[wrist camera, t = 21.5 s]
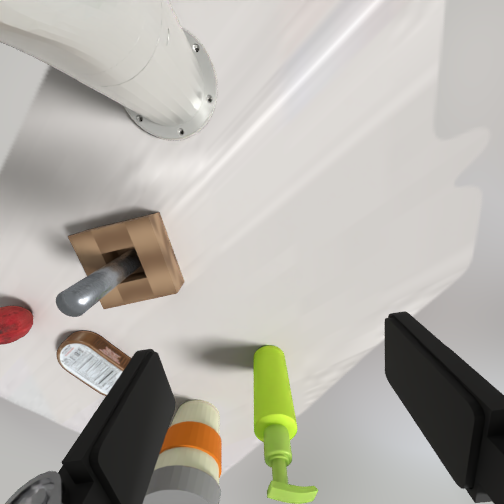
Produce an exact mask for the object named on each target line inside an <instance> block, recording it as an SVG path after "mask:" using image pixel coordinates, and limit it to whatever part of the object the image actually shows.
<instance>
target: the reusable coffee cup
mask: <svg viewBox="0 0 504 504" xmlns="http://www.w3.org/2000/svg"><path fill="white" fill-rule="evenodd" d="M220 475H221V438H220V436H219V412H218V410H217V409H216V407H215V406H213V405H212V404H210V403H208V402H206V401H202V400H191V401H188V402H185V403H184V404H182V405H181V406H180V407H179V409H178V411H177V413H176V415H175V417H174V419H173V422H172V424H171V426H170V428H168V430H167V433H166V436H165V439H164V442H163V445H162V448H161V451H160V454H159V457H158V460H157V463H156V466H155V468H154V471H153V474H152V477H151V480H150V483H149V486H148V489H147V492H146V495H145V498H144V501H143V504H219V501H220V495H221V490H220V487H219V478H220Z"/></svg>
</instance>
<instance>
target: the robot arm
mask: <svg viewBox="0 0 504 504" xmlns="http://www.w3.org/2000/svg"><path fill="white" fill-rule="evenodd" d="M0 42H1V43H4V44H6V45H9V46H11V47H13V48H16V49H18V50H20V51H22V52H24V53H27V54H29V55H31V56H33V57H35V58H37V59H39V60H41V61H43V62H45V63H47V64H48V65H50V66H52V67H54V68H56V69H58V70H60V71H62V72H63V73H65V74H67V75H69V76H71V77H73V78H74V79H76V80H77V81H79V82H81V83H83V84H85V85H87V86H88V87H90V88H92V89H94V90H96V91H98V92H99V93H101V94H103V95H105V96H107V97H109V98H110V99H112V100H114V101H116V102H118V103H120V104H121V105H123V106H124V107H125V109H126V111H127V112H128V114H129V115H130V117H131V118H132V119H133V120H134V121H135V123H136V124H137V125H138V126H140V127H141V128H142V129H143V130H145V131H146V132H148V133H150V134H152V135H153V136H156V137H158V138H161V139H166V140H182V139H187V138H189V137H191V136H193V135H195V134H196V133H198V132H199V131H200V130H202V128H203V127H204V126H205V125H206V124H207V123H208V121H209V119H210V118H211V116H212V114H213V111H214V108H215V106H216V100H217V79H216V73H215V70H214V67H213V64H212V62H211V59H210V57H209V55H208V53H207V52H206V50H205V48H204V47H203V45H202V44H201V43H200V42H199V41H198V40H197V38H196V37H195V36H193V35H192V34H191V33H189V32H188V31H187V30H185V29H183V28H181V25H180V23H179V21H178V19H177V17H176V15H175V13H174V11H173V9H172V7H171V4H170V2H169V0H0ZM196 50H199V51H198V52H196ZM209 99H211V100H212V102H211V103H209V102H208V100H209ZM141 118H143V120H142V122H141ZM181 131H183V132H184V134H183V135H181ZM385 374H386V377H387V380H388V381H389V383H390V385H391V386H392V388H393V389H394V391H395V392H396V394H397V395H398V397H399V398H400V400H401V401H402V403H403V404H404V406H405V407H406V409H407V410H408V412H409V413H410V414H411V416H412V418H413V419H414V421H415V422H416V424H417V425H418V427H419V428H420V430H421V431H422V433H423V434H424V436H425V437H426V439H427V440H428V442H429V443H430V445H431V446H432V448H433V449H434V451H435V452H436V454H437V455H438V457H439V459H440V460H441V462H442V463H443V464H444V466H445V468H446V469H447V471H448V472H449V474H450V475H451V476H452V478H453V480H454V481H455V482H456V484H457V485H458V486H459V487H461V488H465V489H466V490H467V491H468V493H469V495H470V496H471V497H472V499H473V500H474V502H475V503H480V502H490V501H493V503H494V504H504V395H503V394H502V393H500V392H499V391H498V390H497V389H496V388H495V387H493V386H492V385H491V384H490V383H489V382H488V381H487V380H485V379H484V378H483V377H482V376H481V375H479V373H477V372H476V371H475V370H474V369H473V368H471V367H470V366H469V365H468V364H467V363H466V362H465V361H464V360H462V359H461V358H460V357H459V356H458V355H457V354H456V353H454V352H453V351H452V350H451V349H450V348H448V347H447V346H445V345H444V344H443V343H442V342H441V341H440V340H439V339H437V338H436V337H435V336H434V335H433V334H432V333H431V332H429V331H428V330H427V329H426V328H425V327H424V326H423V325H421V324H420V323H419V322H418V321H417V320H415V318H413V317H412V316H411V315H410V314H409V313H407V312H398V313H391V314H389V316H388V318H386V319H385ZM174 409H175V399H174V396H173V393H172V391H171V388H170V385H169V382H168V380H167V377H166V374H165V371H164V369H163V366H162V363H161V361H160V358H159V355H158V353H157V352H154V351H153V350H152V349H147V350H140V351H137V352H136V353H135V354H134V355H133V357H132V358H131V360H130V361H129V363H128V364H127V366H126V367H125V369H124V370H123V372H122V373H121V375H120V376H119V378H118V379H117V381H116V382H115V384H114V385H113V387H112V388H111V390H110V391H109V393H108V394H107V396H106V397H105V399H104V400H103V402H102V403H101V405H100V406H99V407H98V409H97V410H96V412H95V413H94V415H93V416H92V418H91V419H90V421H89V422H88V424H87V425H86V427H85V428H84V430H83V431H82V433H81V434H80V436H79V437H78V439H77V440H76V442H75V443H74V445H73V446H72V448H71V449H70V451H69V452H68V454H67V455H66V457H65V458H64V459H63V461H62V464H63V466H62V468H61V469H60V471H59V472H58V473H57V472H53V471H52V472H51V471H49V472H46V473H43V474H40V475H38V476H36V477H35V478H33V479H31V480H30V481H29V482H27V483H26V484H25V485H23V486H22V487H21V488H20V489H18V490H17V491H16V492H15V494H13V495H12V496H11V497H10V498H9V499H8V501H7V502H6V503H5V504H143V501H144V498H145V495H146V492H147V489H148V486H149V483H150V480H151V477H152V474H153V471H154V468H155V466H156V463H157V460H158V457H159V454H160V451H161V448H162V445H163V442H164V439H165V436H166V433H167V430H168V427H169V424H170V421H171V418H172V415H173V413H174Z"/></svg>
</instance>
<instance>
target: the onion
mask: <svg viewBox="0 0 504 504" xmlns="http://www.w3.org/2000/svg"><path fill="white" fill-rule="evenodd" d="M32 325H33V315H32V314H31V312H30V311H29V310H27V309H25V308H23V307H18V306H5V307H1V308H0V345H1V344H7V343H11V342H14V341H16V340H18V339H20V338H21V337H23V336H25V335H26V334H27V333H28V332H29V330H30V329H31V327H32Z"/></svg>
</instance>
